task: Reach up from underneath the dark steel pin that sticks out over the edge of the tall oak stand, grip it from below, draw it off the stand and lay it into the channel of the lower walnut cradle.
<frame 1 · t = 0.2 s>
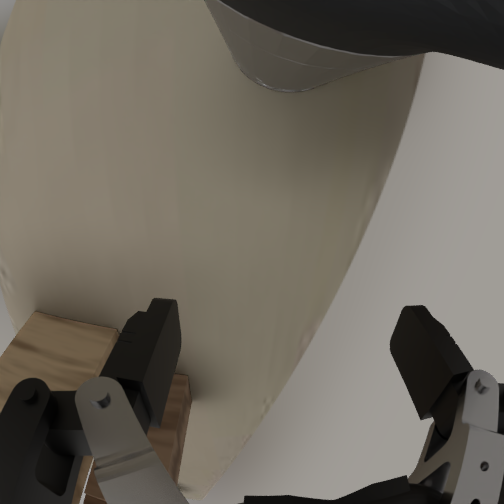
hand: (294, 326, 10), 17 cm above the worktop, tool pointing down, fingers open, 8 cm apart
stand: (78, 338, 35), on the worktop
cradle: (160, 385, 39), on the worktop
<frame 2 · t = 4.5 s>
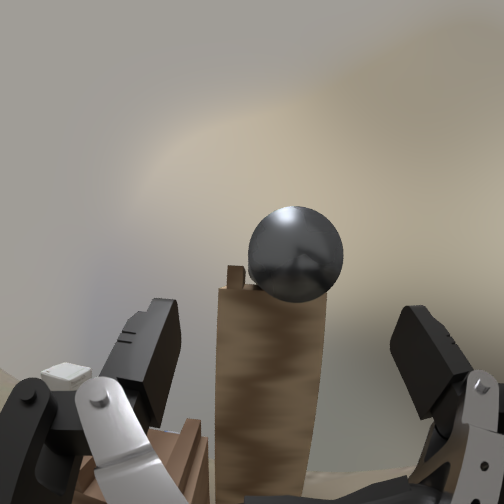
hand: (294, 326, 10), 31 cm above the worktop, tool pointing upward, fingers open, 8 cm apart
skincare box: (79, 446, 35), on the worktop
pin: (270, 289, 21), point 32 cm above the worktop, touching stand
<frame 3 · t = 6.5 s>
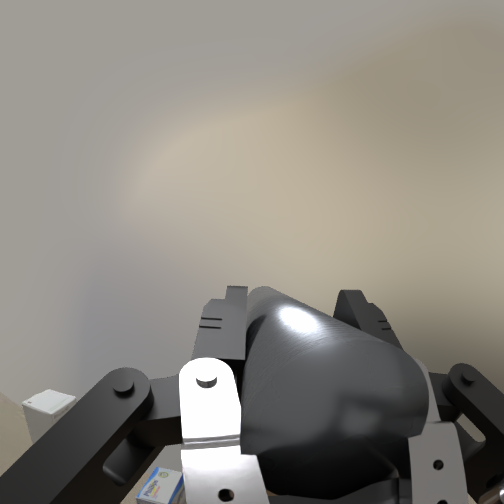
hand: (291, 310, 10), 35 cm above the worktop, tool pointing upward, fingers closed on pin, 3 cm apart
skincare box: (68, 475, 29), on the worktop
pin: (274, 355, 15), point 32 cm above the worktop, touching gripper, stand
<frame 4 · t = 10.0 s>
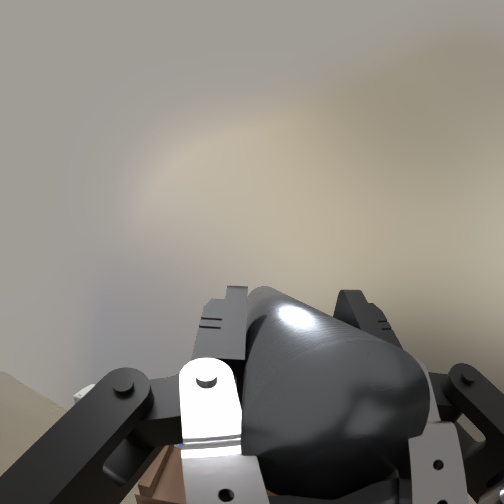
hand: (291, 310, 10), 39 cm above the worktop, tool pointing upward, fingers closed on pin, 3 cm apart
pin: (274, 355, 15), point 36 cm above the worktop, touching gripper
when the fingers open (25 cm above the worktop, at t = 13.5 s): pin drops 1 cm, resting on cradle.
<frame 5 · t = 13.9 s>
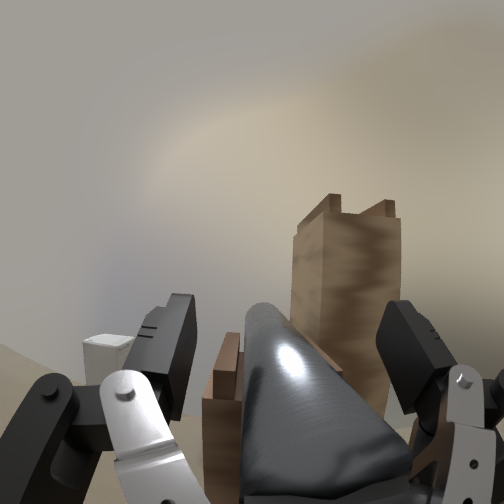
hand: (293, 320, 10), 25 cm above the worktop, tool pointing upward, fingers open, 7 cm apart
skincare box: (116, 423, 39), on the worktop
pin: (272, 380, 15), point 21 cm above the worktop, touching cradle
stand: (310, 484, 27), on the worktop
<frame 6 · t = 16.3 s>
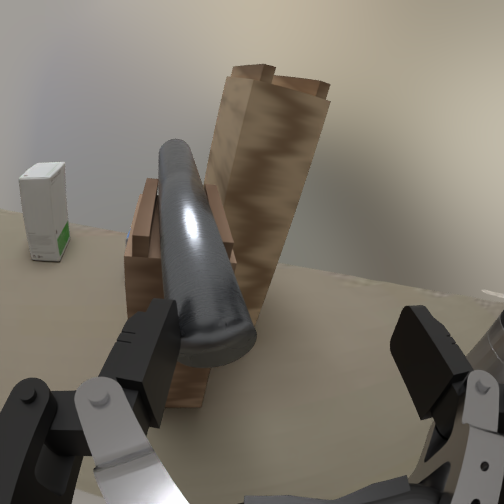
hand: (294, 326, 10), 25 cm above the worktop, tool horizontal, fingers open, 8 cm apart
skincare box: (50, 249, 44), on the worktop
pin: (180, 225, 20), point 21 cm above the worktop, touching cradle, gripper
stand: (214, 308, 44), on the worktop
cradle: (168, 375, 32), on the worktop
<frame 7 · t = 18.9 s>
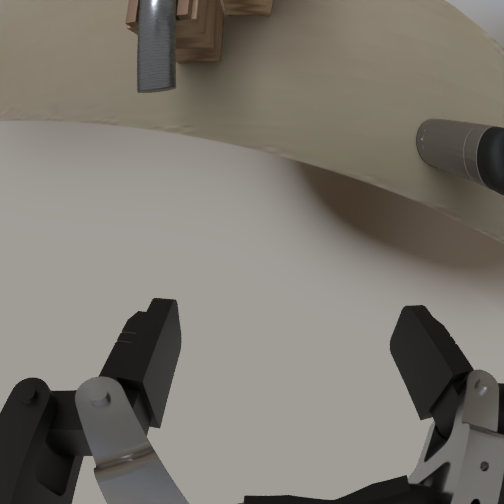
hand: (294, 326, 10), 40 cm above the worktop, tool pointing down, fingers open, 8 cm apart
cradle: (201, 38, 36), on the worktop
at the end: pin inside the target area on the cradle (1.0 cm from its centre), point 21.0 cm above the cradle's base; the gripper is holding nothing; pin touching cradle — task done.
